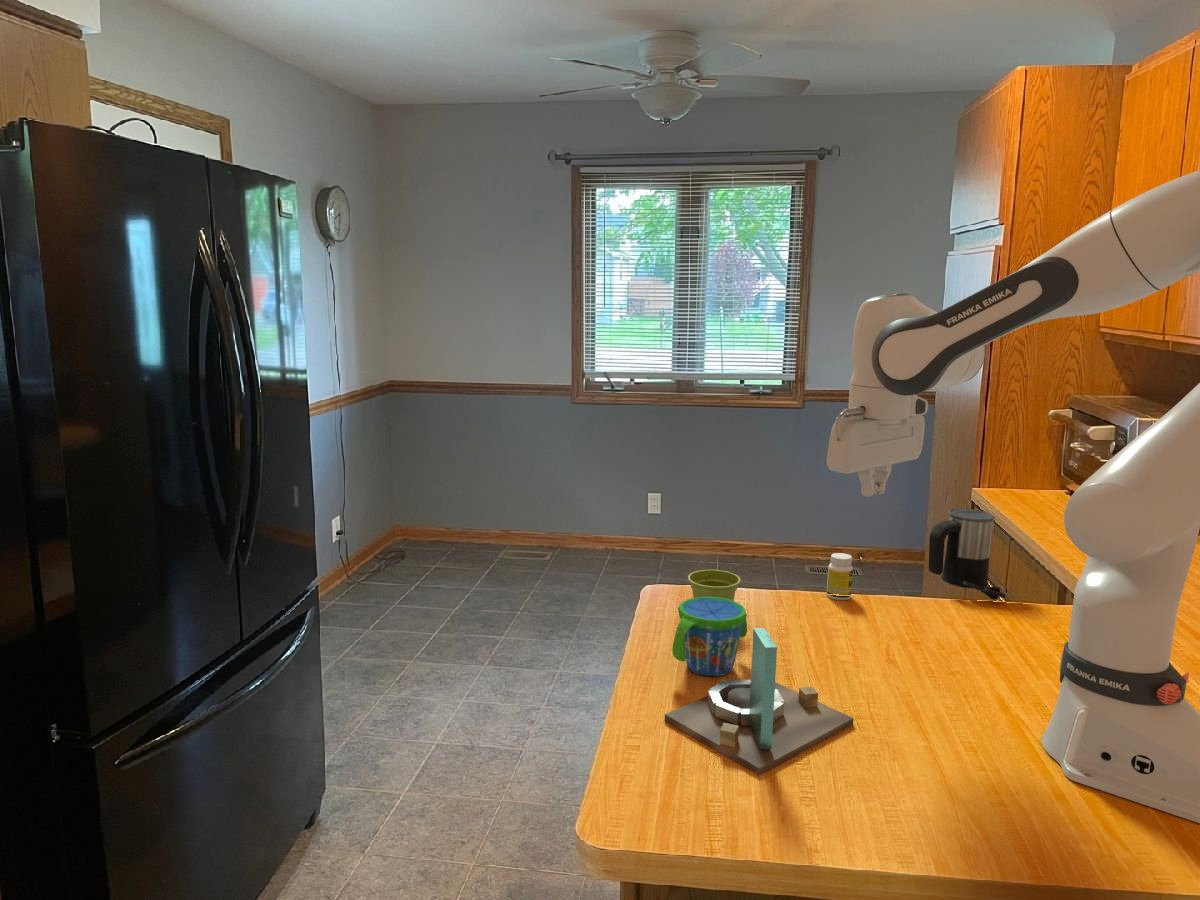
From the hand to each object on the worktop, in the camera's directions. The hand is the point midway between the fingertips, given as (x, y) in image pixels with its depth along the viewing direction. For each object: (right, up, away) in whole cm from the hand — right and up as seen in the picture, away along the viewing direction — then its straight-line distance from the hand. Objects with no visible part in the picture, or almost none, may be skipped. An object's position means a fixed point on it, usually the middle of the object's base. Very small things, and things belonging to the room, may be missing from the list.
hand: (872, 494), depth 126 cm
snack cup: (-24, -28, +6) cm, 38 cm away
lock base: (-19, -31, -10) cm, 38 cm away
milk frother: (+35, -22, +44) cm, 60 cm away
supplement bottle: (+6, -23, +38) cm, 45 cm away
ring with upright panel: (-21, -30, -11) cm, 38 cm away
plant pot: (-21, -25, +24) cm, 41 cm away
